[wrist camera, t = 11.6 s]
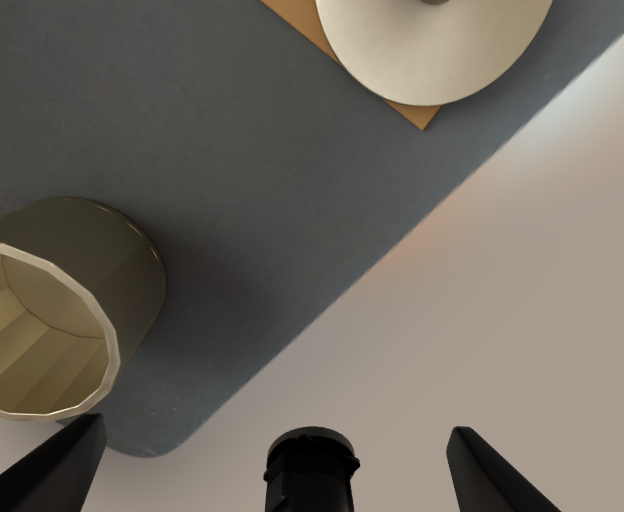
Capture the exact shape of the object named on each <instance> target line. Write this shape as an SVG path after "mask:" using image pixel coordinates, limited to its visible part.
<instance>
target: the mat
mask: <svg viewBox="0 0 624 512" xmlns="http://www.w3.org/2000/svg"><path fill="white" fill-rule="evenodd" d="M260 1H261V2H262V3H264V4H265V5H266V6H267V7H269V8H270V9H271V10H272V11H274V12H275V13H276V14H277V15H279V16H280V17H281V18H282V19H283V20H285V21H286V22H287V23H288V24H290V25H291V26H292V27H293V28H295V29H296V30H297V31H298V32H300V33H301V34H302V35H303V36H305V37H306V38H307V39H308V40H310V41H311V42H312V43H313V44H314V45H316V46H317V47H318V48H319V49H321V50H322V51H323V52H324V53H326V54H327V55H328V56H329V57H331V58H332V59H333V60H334V61H336V62H337V63H338V64H339V65H340V63H339V62H338V60H337V59H336V57H335V56H334V54H333V52H332V51H331V49H330V47H329V45H328V43H327V41H326V38H325V36H324V34H323V31H322V28H321V25H320V22H319V19H318V15H317V10H316V5H315V0H260ZM340 66H341V65H340ZM380 98H381V97H380ZM381 99H383V98H381ZM383 100H384V101H385V102H386V103H388V104H389V105H390V106H391V107H392V108H394V109H395V110H396V111H397V112H399V113H400V114H401V115H402V116H404V117H405V118H406V119H407V120H409V121H410V122H411V123H412V124H414V125H415V126H416V127H417V128H418V129H420V130H423V129H424V128H425V126H426V125H427V124H428V123H429V121H430V120H431V119H432V117H433V116H434V115H435V113H436V112H437V111H438V110H439V108H440V107H441V106H442V105H436V106H409V105H403V104H397V103H394V102H391V101H388V100H385V99H383Z"/></svg>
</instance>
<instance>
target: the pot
mask: <svg viewBox="0 0 624 512" xmlns="http://www.w3.org/2000/svg"><path fill="white" fill-rule="evenodd" d="M166 290H167V278H166V272H165V268H164V265H163V261H162V259H161V257H160V255H159V252H158V251H157V249H156V247H155V246H154V244H153V243H152V241H151V240H150V239H149V237H148V236H147V235H146V234H145V233H144V232H143V231H142V230H141V229H140V228H139V227H138V226H137V225H136V224H135V223H134V222H132V221H131V220H130V219H129V218H127V217H126V216H124V215H122V214H121V213H119V212H118V211H116V210H114V209H112V208H110V207H108V206H105V205H103V204H100V203H97V202H94V201H90V200H86V199H82V198H74V197H56V198H48V199H44V200H40V201H37V202H35V203H32V204H29V205H26V206H24V207H21V208H18V209H15V210H13V211H10V212H8V213H5V214H3V215H0V418H3V419H7V420H11V421H38V422H50V421H51V422H52V421H56V420H59V419H63V418H67V417H70V416H74V415H77V414H81V413H84V412H86V411H87V410H89V409H90V408H91V407H92V406H94V405H95V404H96V403H97V402H99V401H100V400H101V399H102V398H103V397H105V396H106V395H107V394H108V393H109V392H110V391H111V390H112V388H113V386H114V385H115V383H116V382H117V380H118V379H119V377H120V375H121V374H122V372H123V371H124V369H125V368H126V366H127V364H128V363H129V361H130V360H131V358H132V357H133V355H134V353H135V352H136V350H137V349H138V347H139V346H140V344H141V342H142V341H143V339H144V338H145V336H146V335H147V333H148V331H149V330H150V328H151V327H152V325H153V324H154V322H155V320H156V318H157V316H158V313H159V312H160V310H161V308H162V306H163V303H164V300H165V297H166Z"/></svg>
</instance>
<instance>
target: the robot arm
mask: <svg viewBox="0 0 624 512" xmlns="http://www.w3.org/2000/svg"><path fill="white" fill-rule="evenodd" d="M106 443H107V433H106V428H105V423H104V418H103V415H102V414H100V413H84V414H82V415H80V416H79V417H77V418H76V419H75V420H73V421H72V422H71V423H69V424H68V425H67V426H65V427H64V428H62V429H61V430H60V431H59V432H57V433H56V434H54V435H53V436H52V437H50V438H49V439H48V440H46V441H45V442H44V443H42V444H41V445H40V446H38V447H37V448H35V449H34V450H33V451H31V452H30V453H29V454H27V455H26V456H25V457H23V458H22V459H21V460H19V461H18V462H17V463H15V464H14V465H12V466H11V467H10V468H8V469H7V470H6V471H4V472H3V473H2V474H0V512H80V511H81V509H82V506H83V504H84V502H85V499H86V497H87V494H88V491H89V489H90V486H91V483H92V481H93V478H94V476H95V473H96V470H97V468H98V465H99V462H100V460H101V457H102V454H103V452H104V449H105V447H106ZM446 454H447V459H448V464H449V467H450V472H451V476H452V480H453V484H454V488H455V492H456V496H457V500H458V504H459V509H460V512H561V511H560V510H559V509H558V508H557V507H556V506H555V505H554V504H553V503H551V502H550V501H549V500H548V499H547V498H546V497H545V496H544V495H543V494H542V493H541V492H540V491H539V490H537V489H536V488H535V487H534V486H533V485H532V484H531V483H530V482H529V481H528V480H527V479H526V478H525V477H524V476H522V475H521V474H520V473H519V472H518V471H517V470H516V469H515V468H514V467H513V466H512V465H511V464H510V463H509V462H508V461H506V460H505V459H504V458H503V457H502V456H501V455H500V454H499V453H498V452H497V451H496V450H495V449H494V448H492V447H491V446H490V445H489V444H488V443H487V442H486V441H485V440H484V439H483V438H482V437H481V436H479V434H477V433H476V432H475V431H474V430H473V429H472V428H470V427H461V426H457V427H454V428H453V430H452V434H451V436H450V439H449V442H448V445H447V451H446ZM359 467H360V460H359V459H358V458H356V457H354V456H352V455H349V454H347V453H345V452H343V451H341V450H339V449H337V448H335V447H332V446H330V445H328V444H326V443H324V442H322V441H320V440H318V439H316V438H313V437H311V436H309V435H307V434H300V435H299V436H298V437H297V438H296V439H295V440H294V441H293V442H292V443H291V444H290V445H289V446H288V447H287V448H286V450H284V451H283V452H282V453H281V454H280V455H279V456H278V457H277V458H276V459H275V460H274V461H273V462H272V464H271V465H270V466H269V467H268V469H267V470H266V471H265V472H264V474H263V480H264V481H265V482H267V491H266V504H265V512H354V505H353V498H352V490H351V482H350V476H351V475H352V474H353V473H354V472H355V471H356V470H357V469H358V468H359Z"/></svg>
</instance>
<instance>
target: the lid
mask: <svg viewBox="0 0 624 512" xmlns="http://www.w3.org/2000/svg"><path fill="white" fill-rule="evenodd" d="M552 1H553V0H315V5H316V10H317V15H318V19H319V22H320V25H321V28H322V31H323V34H324V36H325V38H326V41H327V43H328V45H329V47H330V49H331V51H332V52H333V54H334V56H335V57H336V59H337V60H338V62H339V63H340V65H341V66H342V67H343V68H344V70H345V71H346V72H347V73H348V74H349V75H350V76H351V77H352V78H353V79H354V80H355V81H356V82H357V83H358V84H359V85H361V86H362V87H364V88H365V89H366V90H368V91H369V92H371V93H372V94H374V95H376V96H378V97H381V98H383V99H385V100H388V101H391V102H394V103H397V104H403V105H409V106H436V105H443V104H447V103H451V102H454V101H458V100H460V99H463V98H465V97H468V96H470V95H472V94H474V93H476V92H477V91H479V90H481V89H483V88H485V87H486V86H487V85H489V84H490V83H492V82H493V81H494V80H496V79H497V78H498V77H500V76H501V75H502V74H503V73H504V72H505V71H506V70H507V69H508V68H510V67H511V66H512V64H513V63H514V62H515V61H516V60H517V59H518V58H519V57H520V56H521V54H522V53H523V52H524V51H525V49H526V48H527V46H528V45H529V44H530V42H531V41H532V40H533V38H534V37H535V35H536V33H537V31H538V30H539V28H540V26H541V25H542V23H543V21H544V19H545V17H546V15H547V13H548V10H549V8H550V6H551V4H552Z"/></svg>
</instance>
